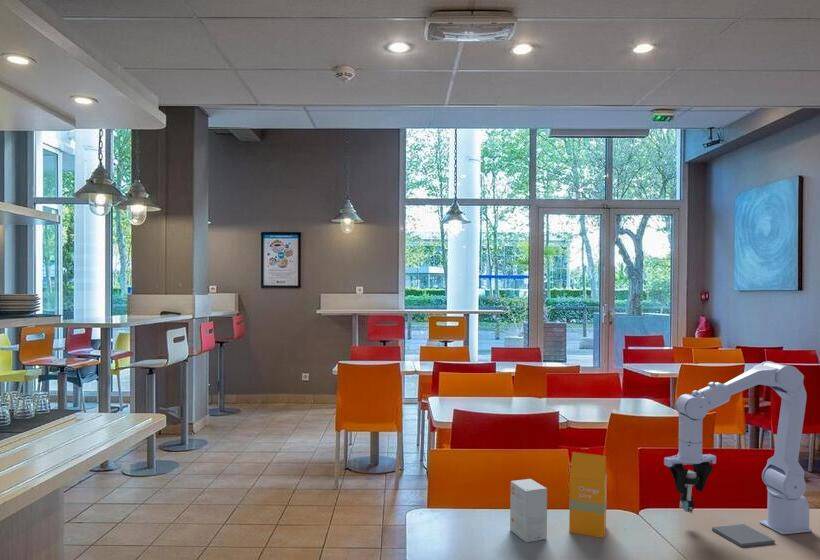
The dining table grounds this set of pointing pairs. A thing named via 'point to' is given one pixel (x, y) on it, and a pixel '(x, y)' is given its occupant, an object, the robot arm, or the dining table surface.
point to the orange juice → (588, 494)
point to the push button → (688, 492)
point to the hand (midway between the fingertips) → (689, 491)
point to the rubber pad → (743, 535)
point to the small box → (528, 510)
